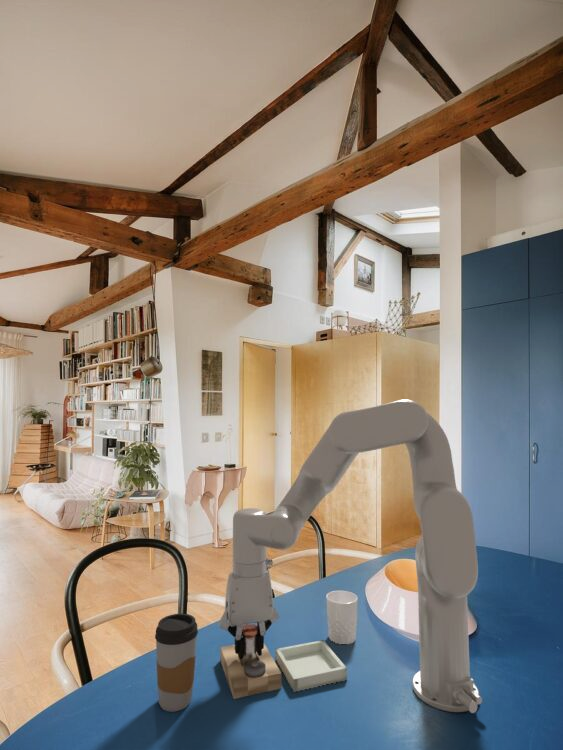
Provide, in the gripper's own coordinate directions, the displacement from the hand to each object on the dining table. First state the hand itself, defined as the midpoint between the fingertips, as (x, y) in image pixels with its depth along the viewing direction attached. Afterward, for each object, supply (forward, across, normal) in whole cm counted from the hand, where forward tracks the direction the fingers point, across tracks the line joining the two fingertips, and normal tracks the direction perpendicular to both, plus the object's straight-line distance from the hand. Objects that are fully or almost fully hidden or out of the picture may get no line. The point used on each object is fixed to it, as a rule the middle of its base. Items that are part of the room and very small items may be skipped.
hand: (249, 653), depth 95 cm
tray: (+4, -13, +3) cm, 14 cm away
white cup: (+5, -26, -7) cm, 27 cm away
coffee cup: (+4, +16, +4) cm, 17 cm away
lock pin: (+4, 0, 0) cm, 4 cm away
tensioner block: (+4, 0, 0) cm, 4 cm away
